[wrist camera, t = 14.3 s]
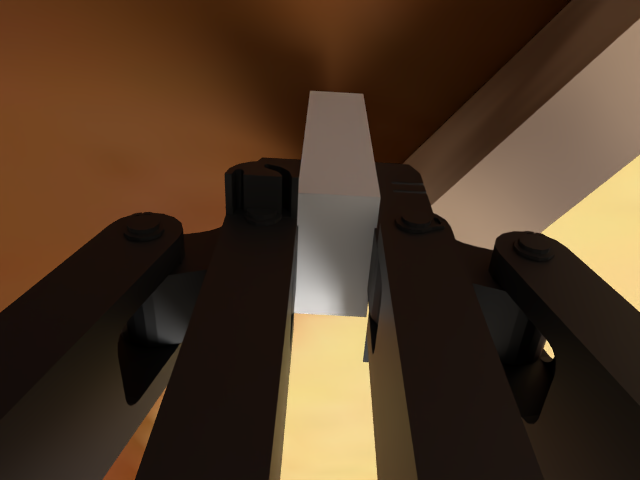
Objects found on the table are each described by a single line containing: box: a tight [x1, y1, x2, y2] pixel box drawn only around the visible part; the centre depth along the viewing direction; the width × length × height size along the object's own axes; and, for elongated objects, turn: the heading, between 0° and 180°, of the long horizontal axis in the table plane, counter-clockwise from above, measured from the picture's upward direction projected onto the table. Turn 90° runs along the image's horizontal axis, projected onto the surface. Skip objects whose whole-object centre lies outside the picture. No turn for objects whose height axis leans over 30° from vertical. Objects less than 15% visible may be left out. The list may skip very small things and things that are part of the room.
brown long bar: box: [403, 0, 640, 250], centre depth 15 cm, size 17×3×4 cm, turn 139°
